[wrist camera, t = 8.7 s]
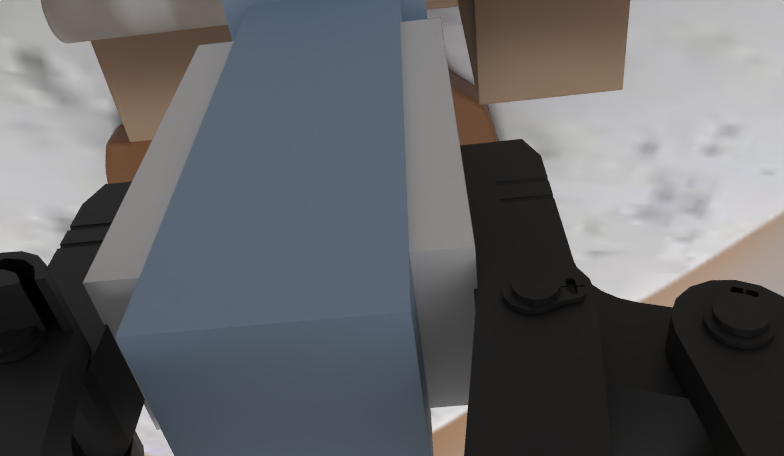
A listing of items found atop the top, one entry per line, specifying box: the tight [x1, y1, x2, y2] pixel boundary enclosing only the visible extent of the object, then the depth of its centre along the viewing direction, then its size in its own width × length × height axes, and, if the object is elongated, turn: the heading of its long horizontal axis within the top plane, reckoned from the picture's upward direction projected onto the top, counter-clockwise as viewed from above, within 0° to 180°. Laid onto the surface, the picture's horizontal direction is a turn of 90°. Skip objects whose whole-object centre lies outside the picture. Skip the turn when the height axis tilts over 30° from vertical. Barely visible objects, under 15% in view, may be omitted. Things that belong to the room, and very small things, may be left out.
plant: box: [105, 68, 499, 184], centre depth 36 cm, size 20×20×11 cm
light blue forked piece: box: [115, 0, 433, 456], centre depth 16 cm, size 10×4×20 cm, turn 7°
